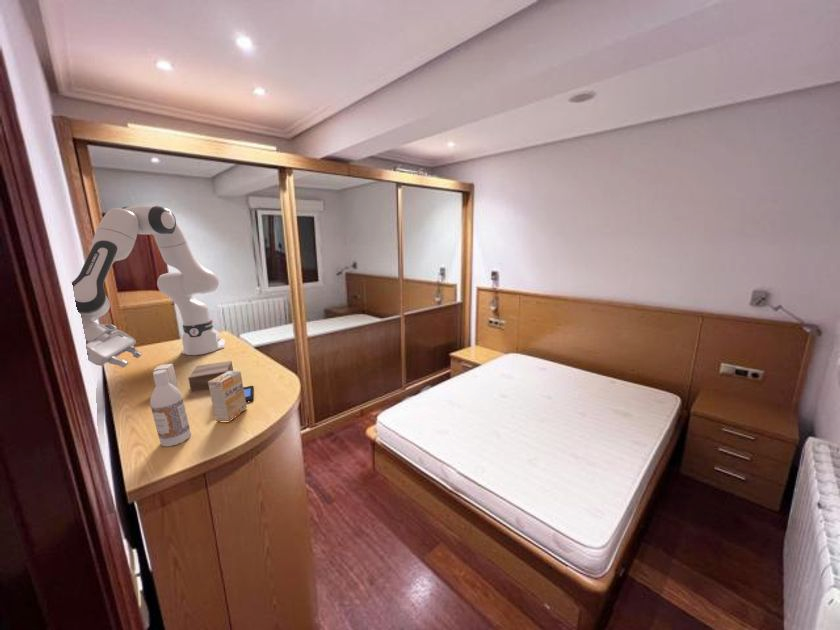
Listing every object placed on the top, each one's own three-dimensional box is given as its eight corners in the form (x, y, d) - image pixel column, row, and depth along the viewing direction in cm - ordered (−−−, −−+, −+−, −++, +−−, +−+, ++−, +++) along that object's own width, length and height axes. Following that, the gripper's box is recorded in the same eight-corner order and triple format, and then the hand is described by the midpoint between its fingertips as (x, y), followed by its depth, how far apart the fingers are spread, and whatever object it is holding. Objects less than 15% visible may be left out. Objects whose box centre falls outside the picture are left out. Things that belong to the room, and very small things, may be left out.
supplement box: (229, 423, 102) (221, 382, 99) (215, 422, 103) (206, 381, 100) (248, 409, 110) (241, 370, 106) (235, 408, 110) (227, 370, 107)
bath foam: (154, 446, 92) (135, 377, 87) (175, 432, 99) (159, 366, 94) (176, 448, 91) (159, 377, 86) (197, 433, 97) (181, 366, 93)
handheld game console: (254, 402, 114) (250, 381, 113) (216, 410, 110) (212, 389, 108) (254, 387, 126) (250, 368, 124) (220, 394, 121) (216, 375, 120)
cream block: (164, 387, 129) (158, 365, 127) (178, 385, 130) (172, 363, 128) (159, 393, 125) (153, 369, 123) (173, 391, 126) (167, 367, 124)
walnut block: (199, 380, 135) (196, 366, 133) (234, 374, 139) (231, 360, 137) (191, 393, 124) (188, 377, 122) (229, 386, 128) (226, 371, 126)
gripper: (78, 339, 108) (123, 364, 112) (115, 323, 127) (152, 345, 132) (65, 354, 108) (110, 378, 112) (104, 336, 127) (141, 357, 132)
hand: (133, 360), depth 122 cm, fingers open, 8 cm apart
